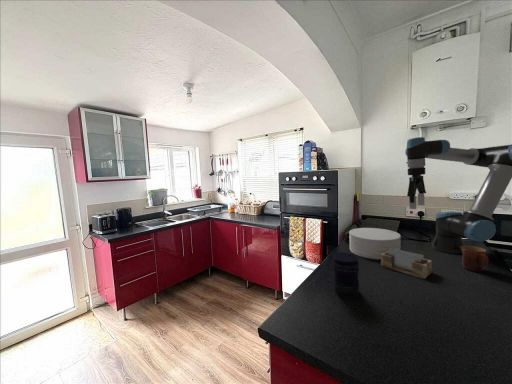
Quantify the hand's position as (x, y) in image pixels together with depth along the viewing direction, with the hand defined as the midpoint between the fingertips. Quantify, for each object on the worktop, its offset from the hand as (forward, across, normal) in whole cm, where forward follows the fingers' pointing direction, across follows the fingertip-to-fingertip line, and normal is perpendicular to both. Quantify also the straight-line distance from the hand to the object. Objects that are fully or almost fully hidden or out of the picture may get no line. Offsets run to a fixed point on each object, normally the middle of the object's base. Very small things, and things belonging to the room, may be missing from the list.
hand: (417, 206), depth 113 cm
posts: (+29, +17, -1) cm, 34 cm away
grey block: (+29, +16, -1) cm, 33 cm away
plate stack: (+30, +1, -23) cm, 37 cm away
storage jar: (+29, +56, -10) cm, 64 cm away
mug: (+30, -4, +21) cm, 37 cm away
